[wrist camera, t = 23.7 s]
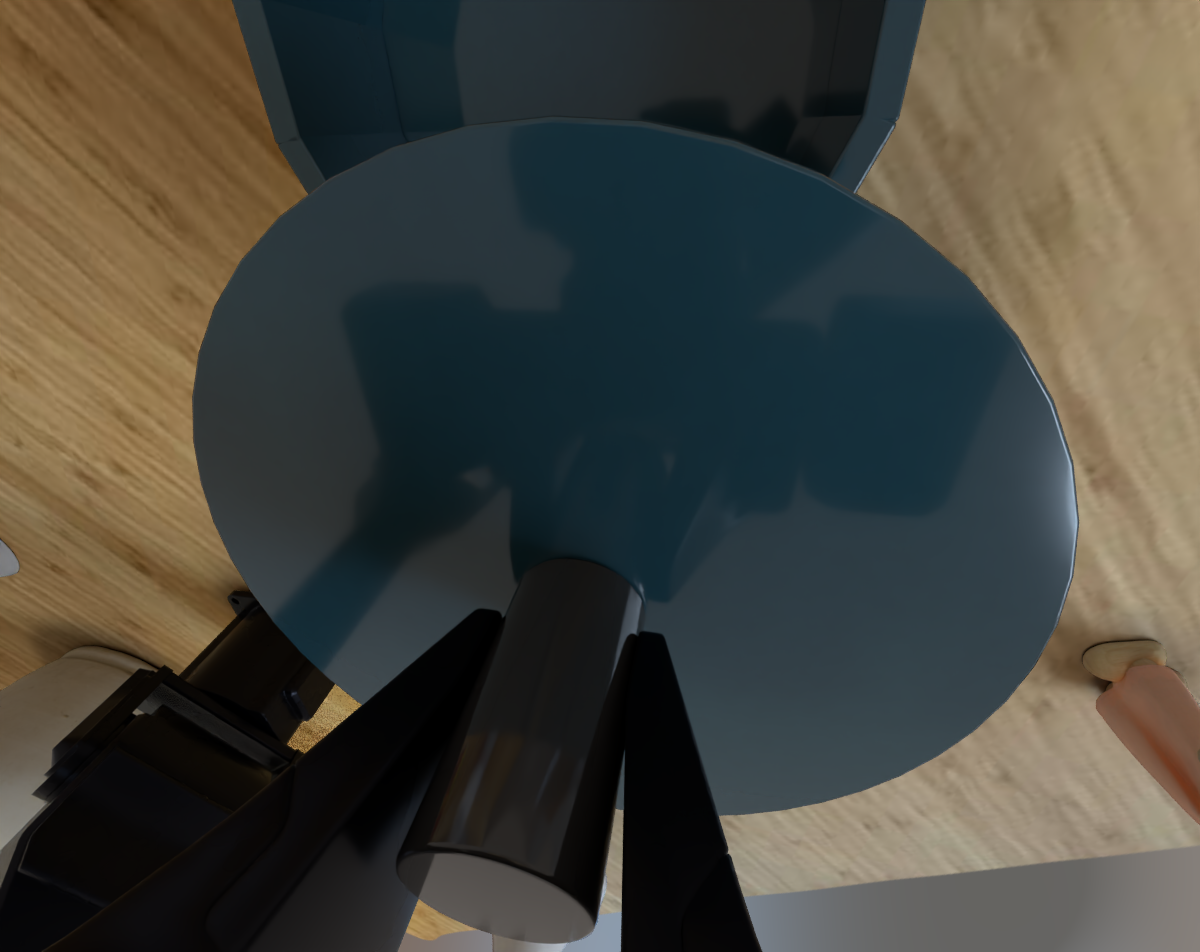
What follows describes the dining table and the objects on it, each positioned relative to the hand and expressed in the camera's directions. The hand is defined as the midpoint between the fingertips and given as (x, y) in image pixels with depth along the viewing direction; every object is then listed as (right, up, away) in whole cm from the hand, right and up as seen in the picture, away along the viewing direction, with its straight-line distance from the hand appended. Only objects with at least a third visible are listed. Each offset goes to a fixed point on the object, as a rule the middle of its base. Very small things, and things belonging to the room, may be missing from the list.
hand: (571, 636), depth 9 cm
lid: (0, +1, +1) cm, 1 cm away
